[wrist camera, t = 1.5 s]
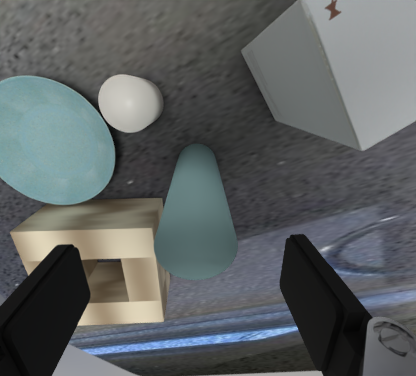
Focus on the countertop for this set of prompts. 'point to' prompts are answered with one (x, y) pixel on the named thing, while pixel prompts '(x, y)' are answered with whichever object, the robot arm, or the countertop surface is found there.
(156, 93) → the short off-white stub
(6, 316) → the robot arm
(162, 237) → the teal dowel
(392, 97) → the supplement box
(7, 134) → the saucer
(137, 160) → the countertop surface
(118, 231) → the birch hole block
